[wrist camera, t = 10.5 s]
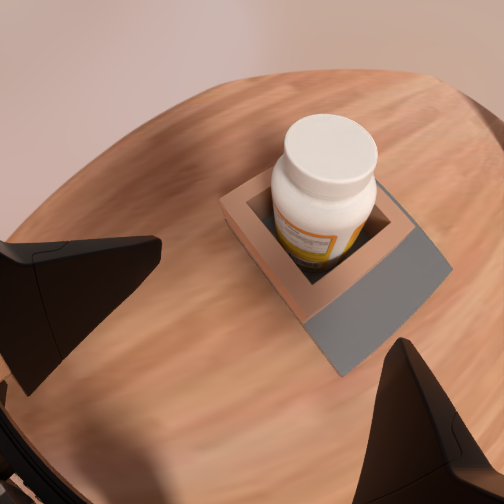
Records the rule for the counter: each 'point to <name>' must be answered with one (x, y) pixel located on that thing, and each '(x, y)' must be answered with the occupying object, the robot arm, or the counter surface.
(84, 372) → the counter surface
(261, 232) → the socket stand
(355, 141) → the supplement bottle
